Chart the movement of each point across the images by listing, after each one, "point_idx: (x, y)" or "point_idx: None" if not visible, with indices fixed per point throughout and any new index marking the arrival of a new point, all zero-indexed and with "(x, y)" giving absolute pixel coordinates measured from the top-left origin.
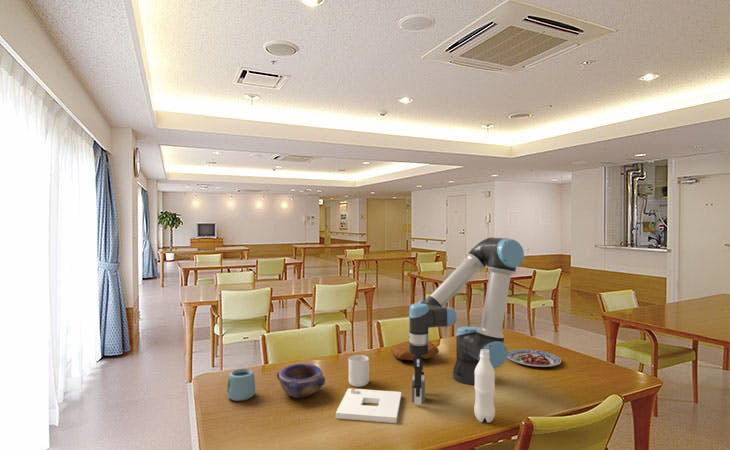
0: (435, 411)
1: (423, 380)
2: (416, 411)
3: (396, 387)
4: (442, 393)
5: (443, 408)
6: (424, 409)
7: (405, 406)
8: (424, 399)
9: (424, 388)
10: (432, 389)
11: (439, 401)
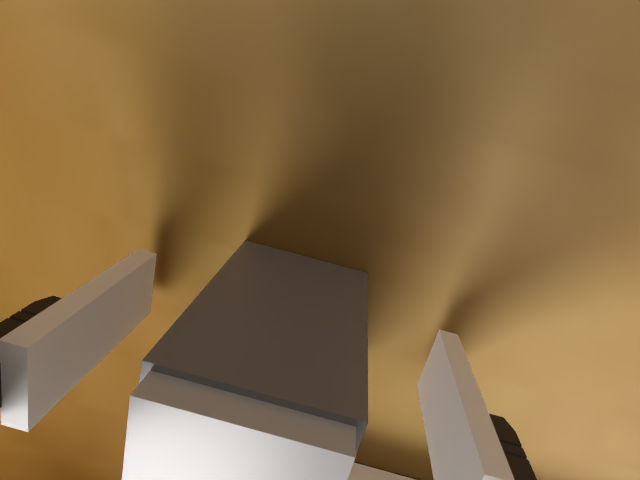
0: (589, 220)
1: (352, 462)
2: (539, 385)
3: (56, 423)
4: (147, 16)
5: (541, 114)
6: (517, 311)
7: (424, 441)
8: (365, 287)
9: (366, 358)
10: (51, 113)
11: (359, 113)
